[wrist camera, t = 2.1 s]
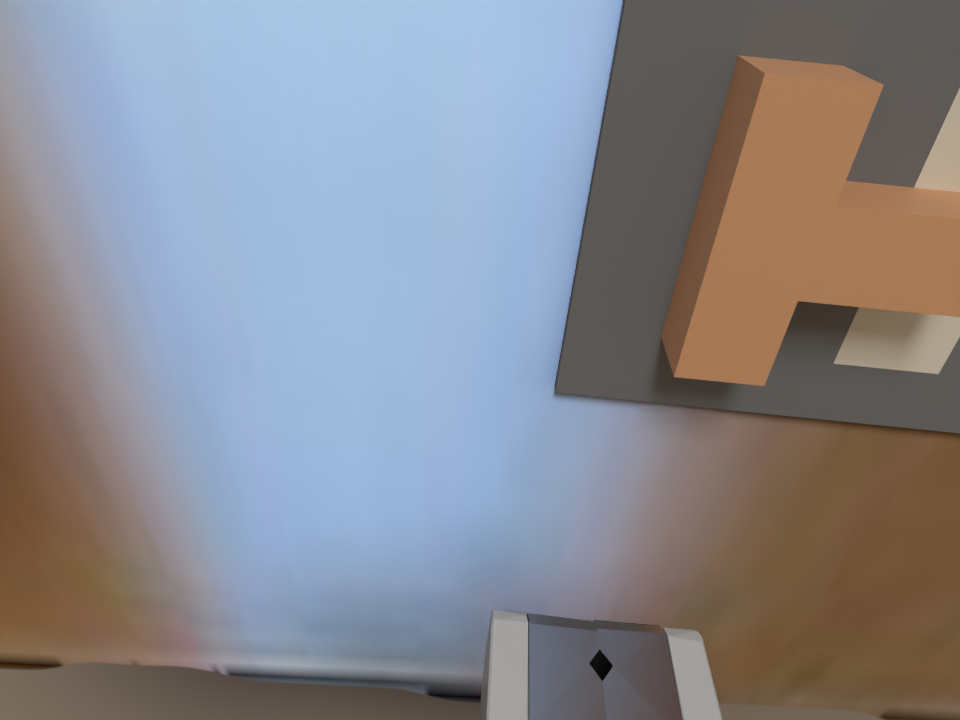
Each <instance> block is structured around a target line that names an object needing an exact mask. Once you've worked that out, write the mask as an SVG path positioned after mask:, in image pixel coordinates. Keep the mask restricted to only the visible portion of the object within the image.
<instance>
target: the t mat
mask: <svg viewBox="0 0 960 720" xmlns="http://www.w3.org/2000/svg"><path fill="white" fill-rule="evenodd" d="M738 55H740V56H750V57H760V58H770V59H781V60H791V61H801V62H811V63H821V64H832V65H842V66H845V67H847V68H850V69H852V70H854V71H856V72H858V73H860V74H862V75H864V76H866V77H868V78H871V79H873V80H875V81H877V82H879V83H881V84H883V85H884V86H883V88H882V91H881V93H880V96H879V98H878V101H877V103H876V106H875V109H874V111H873V114H872V116H871V119H870V121H869V124H868V126H867V129H866V131H865V134H864V136H863V139H862V141H861V144H860V146H859V149H858V151H857V154H856V156H855V159H854V161H853V164H852V166H851V169H850V171H849V174H848V177H847V179H846V181H852V182H863V183H873V184H883V185H893V186H903V187H913V188H923V189H933V190H944V191H954V192H960V0H623V6H622V12H621V17H620V23H619V28H618V34H617V40H616V45H615V51H614V57H613V62H612V68H611V73H610V79H609V85H608V90H607V96H606V102H605V107H604V113H603V118H602V124H601V130H600V135H599V141H598V147H597V152H596V158H595V163H594V169H593V175H592V180H591V186H590V192H589V197H588V203H587V208H586V214H585V220H584V225H583V231H582V237H581V242H580V248H579V253H578V259H577V265H576V270H575V276H574V282H573V287H572V293H571V298H570V304H569V310H568V315H567V321H566V326H565V332H564V338H563V343H562V349H561V355H560V360H559V366H558V371H557V377H556V383H555V393H563V394H573V395H583V396H593V397H603V398H613V399H623V400H633V401H643V402H653V403H663V404H673V405H683V406H692V407H702V408H712V409H722V410H732V411H742V412H752V413H762V414H772V415H782V416H792V417H802V418H812V419H822V420H832V421H841V422H851V423H861V424H871V425H881V426H891V427H901V428H911V429H921V430H931V431H941V432H951V433H960V317H953V316H943V315H933V314H923V313H913V312H903V311H893V310H883V309H873V308H863V307H852V306H842V305H832V304H822V303H812V302H802V301H798V303H797V305H796V308H795V310H794V313H793V315H792V318H791V320H790V323H789V325H788V328H787V330H786V333H785V335H784V338H783V340H782V343H781V345H780V348H779V350H778V353H777V355H776V358H775V360H774V363H773V366H772V368H771V371H770V373H769V376H768V378H767V381H766V383H765V386H758V385H748V384H738V383H728V382H718V381H709V380H699V379H689V378H679V377H674V376H673V372H672V369H671V366H670V363H669V360H668V357H667V353H666V350H665V347H664V344H663V341H662V338H661V335H662V331H663V327H664V324H665V320H666V316H667V313H668V309H669V306H670V302H671V298H672V295H673V291H674V287H675V284H676V280H677V276H678V273H679V269H680V265H681V262H682V258H683V255H684V251H685V247H686V244H687V240H688V236H689V233H690V229H691V225H692V222H693V218H694V214H695V211H696V207H697V204H698V200H699V196H700V193H701V189H702V185H703V182H704V178H705V174H706V171H707V167H708V163H709V160H710V156H711V153H712V149H713V145H714V142H715V138H716V134H717V131H718V127H719V123H720V120H721V116H722V112H723V109H724V105H725V102H726V98H727V94H728V91H729V87H730V83H731V80H732V76H733V72H734V69H735V65H736V61H737V58H738Z"/></svg>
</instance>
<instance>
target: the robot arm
mask: <svg viewBox="0 0 960 720" xmlns="http://www.w3.org/2000/svg"><path fill="white" fill-rule="evenodd" d="M480 720H723V719H722V715H721V711H720V707H719V703H718V699H717V695H716V691H715V687H714V683H713V679H712V675H711V670H710V666H709V662H708V658H707V654H706V650H705V646H704V642H703V638H702V637H701V635H700V634H699V632H698V631H696V630H692V629H680V628H668V627H660V626H659V625H647V624H635V623H623V622H612V621H600V620H593V621H590V620H581V619H572V618H564V617H555V616H547V615H538V614H530V613H528V614H527V613H524V612H514V611H504V610H494V609H493V610H492V612H491V619H490V626H489V632H488V639H487V646H486V653H485V662H484V671H483V680H482V692H481V708H480Z"/></svg>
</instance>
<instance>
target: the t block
mask: <svg viewBox="0 0 960 720" xmlns="http://www.w3.org/2000/svg"><path fill="white" fill-rule="evenodd" d="M883 86H884V85H883V84H881V83H879V82H877V81H875V80H873V79H871V78H868V77H866V76H864V75H862V74H860V73H858V72H856V71H854V70H852V69H850V68H847V67H845V66H842V65H832V64H821V63H811V62H801V61H791V60H781V59H770V58H760V57H750V56H740V55H738V58H737V61H736V65H735V69H734V72H733V76H732V80H731V83H730V87H729V91H728V94H727V98H726V102H725V105H724V109H723V112H722V116H721V120H720V123H719V127H718V131H717V134H716V138H715V142H714V145H713V149H712V153H711V156H710V160H709V163H708V167H707V171H706V174H705V178H704V182H703V185H702V189H701V193H700V196H699V200H698V204H697V207H696V211H695V214H694V218H693V222H692V225H691V229H690V233H689V236H688V240H687V244H686V247H685V251H684V255H683V258H682V262H681V265H680V269H679V273H678V276H677V280H676V284H675V287H674V291H673V295H672V298H671V302H670V306H669V309H668V313H667V316H666V320H665V324H664V327H663V331H662V335H661V338H662V341H663V344H664V347H665V350H666V353H667V357H668V360H669V363H670V366H671V369H672V372H673V376H674V377H679V378H689V379H699V380H709V381H718V382H728V383H738V384H748V385H758V386H765V383H766V381H767V378H768V376H769V373H770V371H771V368H772V366H773V363H774V360H775V358H776V355H777V353H778V350H779V348H780V345H781V343H782V340H783V338H784V335H785V333H786V330H787V328H788V325H789V323H790V320H791V318H792V315H793V313H794V310H795V308H796V305H797V303H798V301H802V302H812V303H822V304H832V305H842V306H852V307H863V308H873V309H883V310H893V311H903V312H913V313H923V314H933V315H943V316H953V317H960V192H954V191H944V190H933V189H923V188H913V187H903V186H893V185H883V184H873V183H863V182H852V181H846V179H847V177H848V174H849V171H850V169H851V166H852V164H853V161H854V159H855V156H856V154H857V151H858V149H859V146H860V144H861V141H862V139H863V136H864V134H865V131H866V129H867V126H868V124H869V121H870V119H871V116H872V114H873V111H874V109H875V106H876V103H877V101H878V98H879V96H880V93H881V91H882V88H883Z"/></svg>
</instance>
